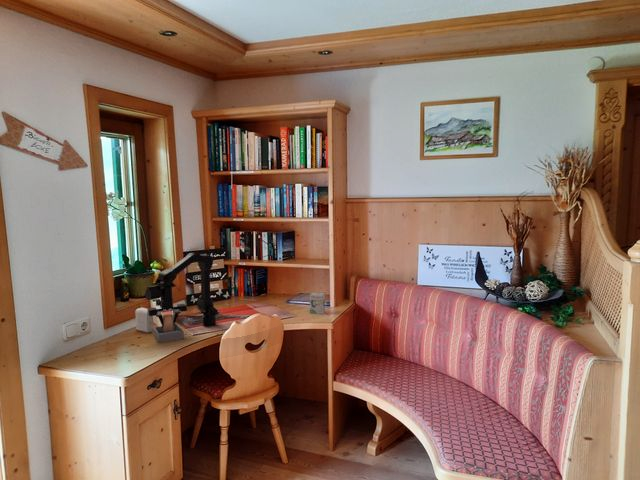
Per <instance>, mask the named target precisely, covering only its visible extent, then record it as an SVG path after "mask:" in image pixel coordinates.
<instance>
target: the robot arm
mask: <svg viewBox="0 0 640 480" xmlns="http://www.w3.org/2000/svg"><path fill="white" fill-rule="evenodd" d="M194 262H197V266H198V268H199V270H200V298H198V299H197V300H196V301H197V302H196V303H197V305H196V307H197V309H198V310H199V311H200V314H202V317H201V324H202V325H203V326H204V327H212V326H213V327H214V326H217V325H218V324H217V323H216V315H218V309H217V308H216V307H214V301H213V299H212V297H211V269H212V268H213V264H214V257H213V256H212V255H211V254H205V253H201V254H197V253H194V252H189V253H188V254H187V255H186V256H185V257H183V258H182V259H180V260H179V261H177V262H176V263H175V264H174V265H173V266H172V267H170V268H166V269H165V270H164V269H163V270H162V271H161V272H159V273H158V275H157V278H156V280H155V281H154V284H153V285H148V286H146V289H145V291H144V296H145V299H146V300H147V301H152V300H155V306H156V307H160V308H156V307H149V308H147V309H148V310H147V313H148V315H149V316H153V317H154V316H155V317H156V318H158V319H159V322H160V326H162V327H163V325H164V324H163V315H162V313H166V312H167V313H168V312H172V315H173V325H174V324H176V321H177V319H178V317H179V315H180V314H181V312H187V311H188V307H187V305H186V304H185V303H178V304H176V306H174V297H173V296H174V295H173V288H174V287H176V286H177V285H176V284H175V283H174V281H175V280H176V278H177V277H178V275H179V274H180V273H181V272H183V271H184V270H185V269H186V268H188V267H189V266H190V265H191V264H192V263H194Z"/></svg>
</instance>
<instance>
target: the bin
mask: <svg viewBox="0 0 640 480" xmlns="http://www.w3.org/2000/svg"><path fill="white" fill-rule="evenodd" d="M173 328H174V331H172V332H164V331H163V327H162V325H158V326H153V336H154V337H155V339H156V341H157V342H158V343H159V344H160V343H167V342H172V341H178V340H184V339H185V335H184V334H185V331H184V330H183V328H182V327H181V326H180V325H179V324H178V323H175V324H174V325H173Z"/></svg>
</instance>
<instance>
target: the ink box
mask: <svg viewBox="0 0 640 480" xmlns="http://www.w3.org/2000/svg"><path fill="white" fill-rule="evenodd" d="M309 313H310V314H311V315H312V314H315V315H324V314H325V313H326V294H325V293H320V292H311V293H309Z"/></svg>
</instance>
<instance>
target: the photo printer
mask: <svg viewBox="0 0 640 480" xmlns="http://www.w3.org/2000/svg"><path fill="white" fill-rule="evenodd" d="M147 310H148V308H145V307H138V308H137V309H135V313H134V314H135V315H134V316H135V329H136V331H140V332H144V333H152V332H154V330H153V327H154V322H153V321H154V319H153V317H154V316H149V315H148V313H147Z"/></svg>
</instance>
